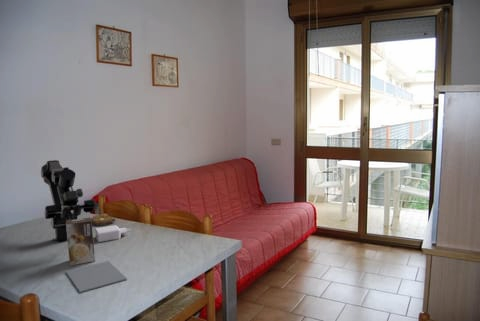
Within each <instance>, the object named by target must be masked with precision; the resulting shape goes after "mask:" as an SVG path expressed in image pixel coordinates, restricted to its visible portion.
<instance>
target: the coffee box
mask: <svg viewBox="0 0 480 321" xmlns="http://www.w3.org/2000/svg"><path fill="white" fill-rule="evenodd" d="M91 218H92V217H84V218H77V219H74V220H66V230H67V240H66V241H67V248H68V250H67V251H68V260H69V266H75V265H80V264H88V263H93V262H96V256H95V247H94V246H95V244H94V243H95V242H94V234H93V224H92V223H93V222H92V221H91Z"/></svg>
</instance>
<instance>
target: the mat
mask: <svg viewBox="0 0 480 321" xmlns="http://www.w3.org/2000/svg"><path fill="white" fill-rule="evenodd" d="M65 273H66V275H67V276H68V278H69V279H70V280H71V282H72V283H73V285H74V286H75V287H76V289H77V291H78V292H79V293H80V294H81V293H86V292H89V291H92V290H96V289H99V288H103V287H107V286H111V285H114V284H117V283H120V282H124V281H128V278H127V277H126V276H125V275H124V274H123V273H122V272H121V271H120V270H118V268H116V267H115V266H114V265H113V264H112V263H111V262H110V261H109V260H106V261H102V262H99V263H95V264H91V265H86V266H82V267H77V268H74V269H70V270H66V271H65Z"/></svg>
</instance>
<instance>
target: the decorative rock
mask: <svg viewBox="0 0 480 321" xmlns="http://www.w3.org/2000/svg"><path fill="white" fill-rule="evenodd" d="M90 218H91V222H92V223H93V224H95V226H97V227H98V226H99V227H106V226H109V225H110V224H112V223H113V222H115V221H116V218H115V217H113V216H110V215H108V213H101V214H95V215H94V216H93V217H90Z"/></svg>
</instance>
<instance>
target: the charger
mask: <svg viewBox="0 0 480 321" xmlns="http://www.w3.org/2000/svg"><path fill="white" fill-rule="evenodd" d="M128 231H131V228H126V227H121V228H119V226H117V225H116V224H115V225H106V226H100V227H96V228H94V233H95V234H94V236H95V239H96V240H97V242H98V243H102V242H108V241H113V240H114V241H115V240H119V239H120V238H122V235H126V234H128Z"/></svg>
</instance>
